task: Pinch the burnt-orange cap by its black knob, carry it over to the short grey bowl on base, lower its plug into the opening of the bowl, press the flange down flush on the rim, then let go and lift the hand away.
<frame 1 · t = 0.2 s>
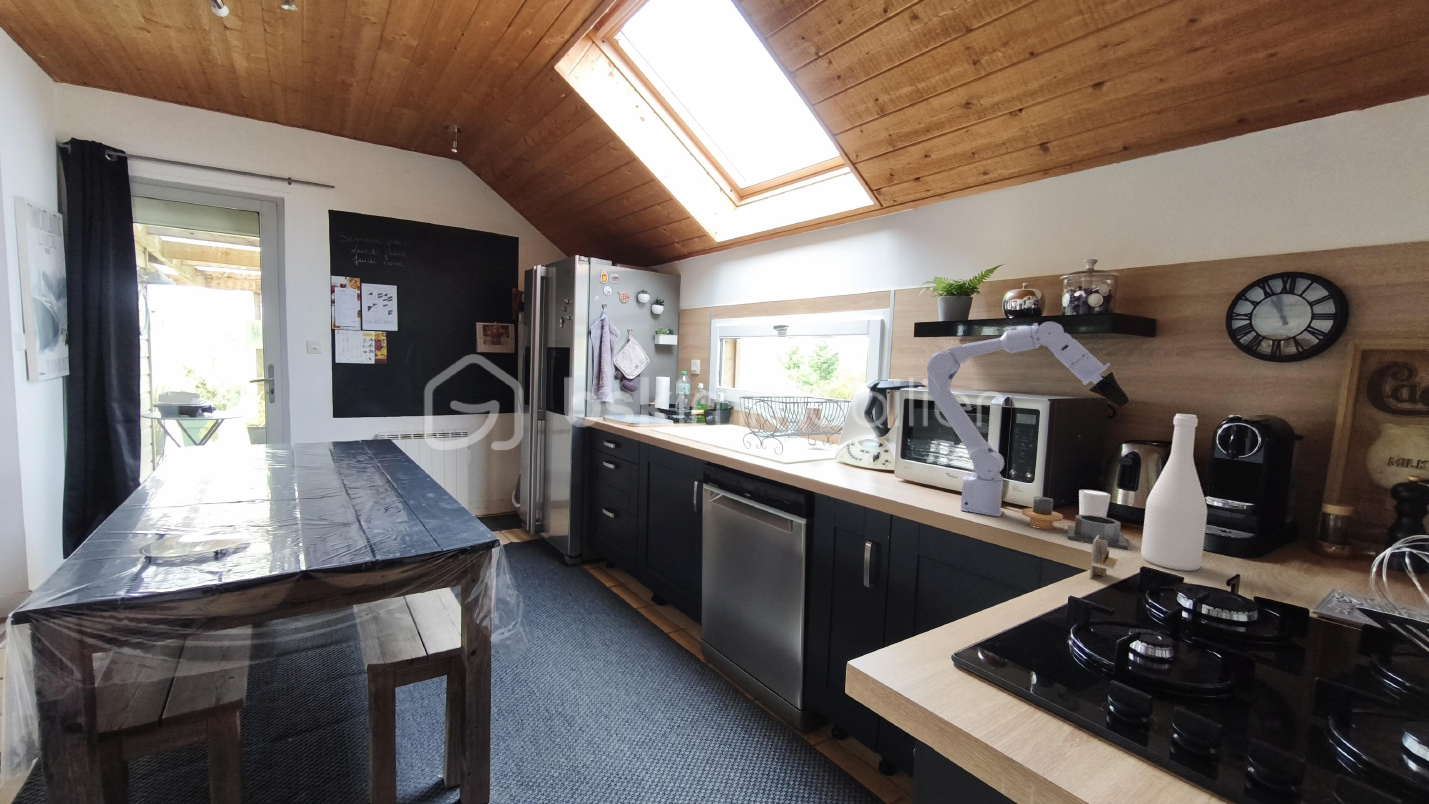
hand: (1125, 403, 135), 31 cm above the worktop, tool tilted 45°, fingers open, 7 cm apart
cap: (1040, 526, 140), on the worktop
wine bottle: (1169, 564, 117), on the worktop
shot glass: (1092, 519, 150), on the worktop
grey bowl on base: (1095, 538, 132), on the worktop
architectural model: (1097, 579, 107), on the worktop
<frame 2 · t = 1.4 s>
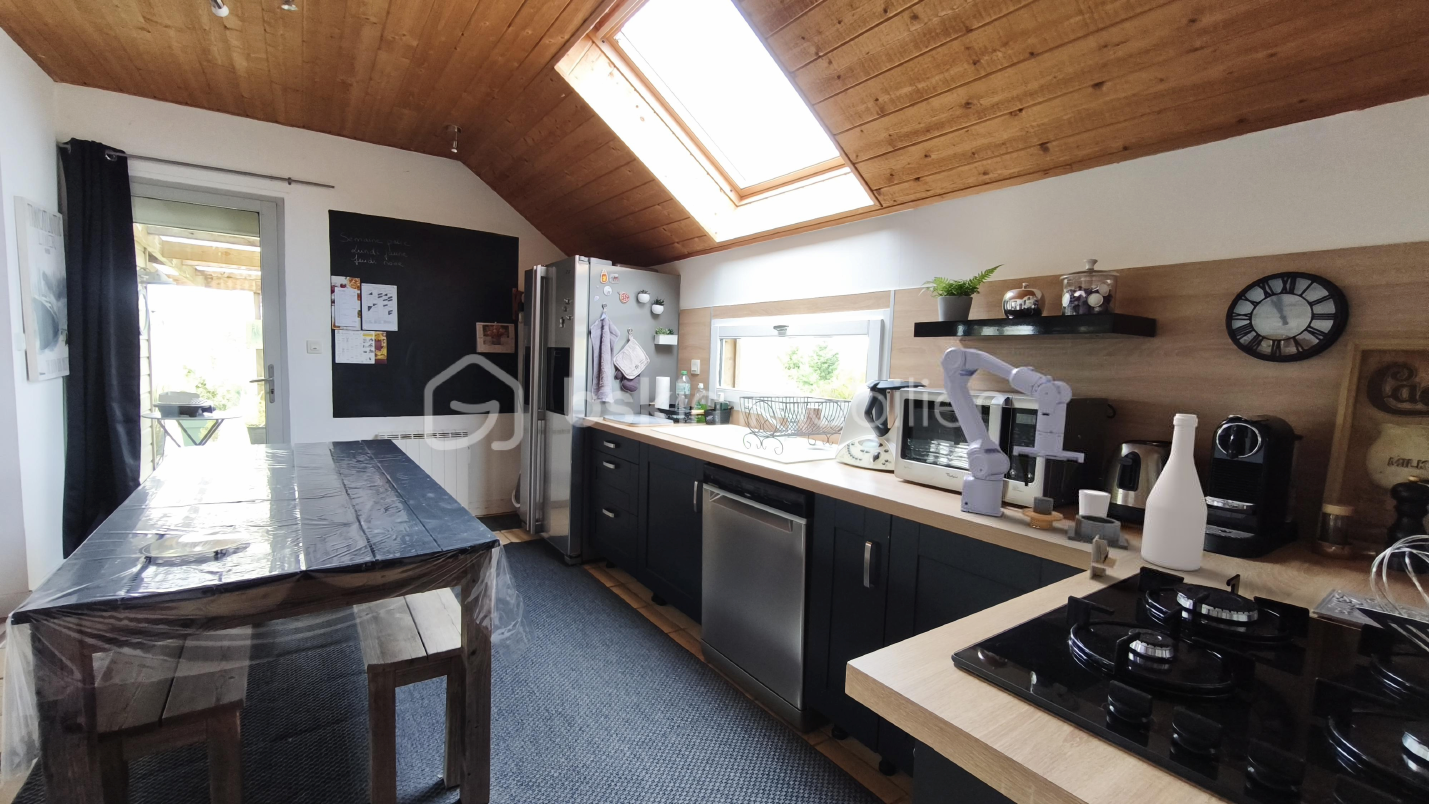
hand: (1044, 488, 140), 9 cm above the worktop, tool pointing down, fingers open, 7 cm apart
nothing on the worktop moved.
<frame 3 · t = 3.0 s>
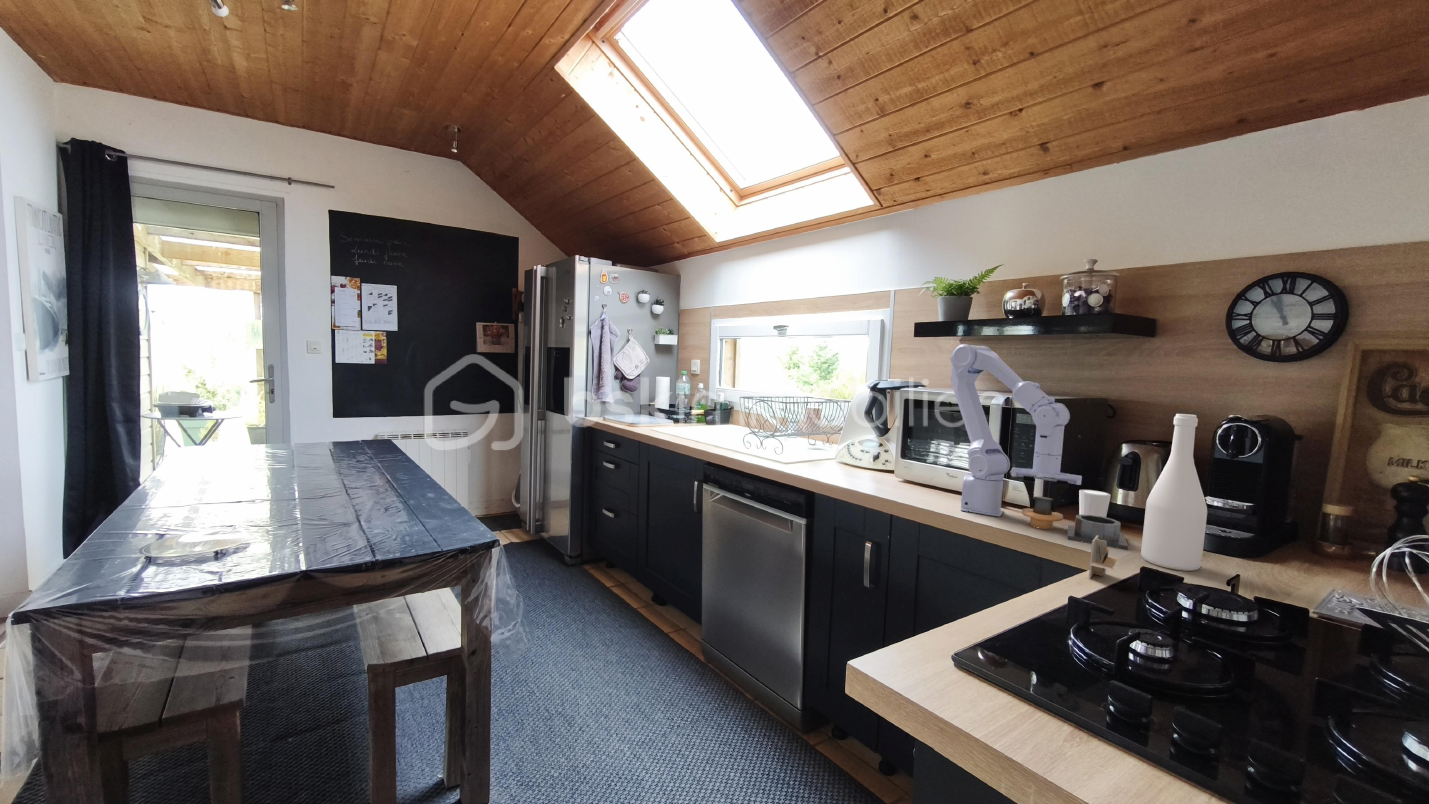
hand: (1042, 509, 140), 4 cm above the worktop, tool pointing down, fingers closed on cap, 4 cm apart
cap: (1040, 526, 140), on the worktop, touching gripper
everything else where it was.
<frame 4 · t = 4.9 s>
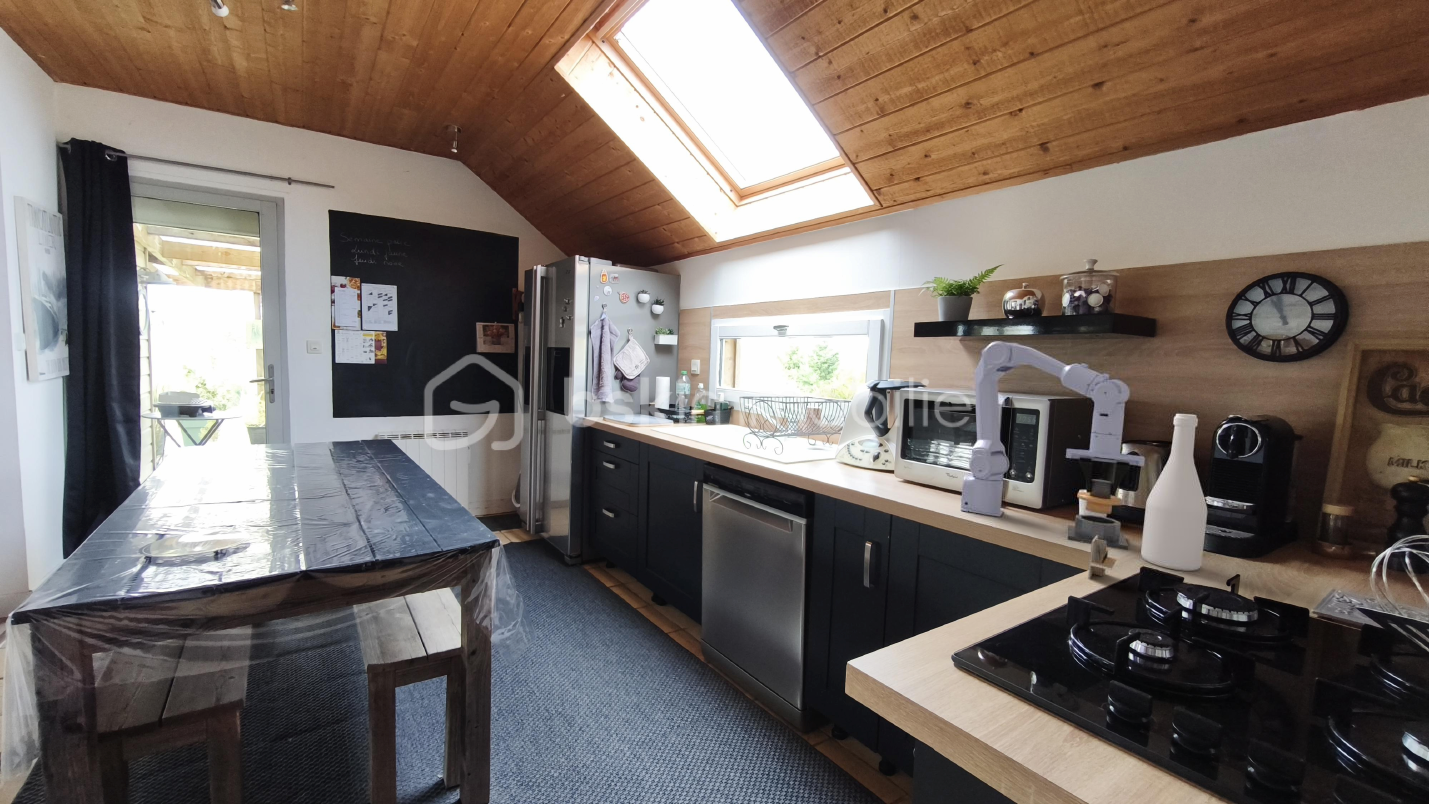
hand: (1100, 493, 131), 10 cm above the worktop, tool pointing down, fingers closed on cap, 4 cm apart
cap: (1098, 510, 132), point 6 cm above the worktop, touching gripper
everything else where it was.
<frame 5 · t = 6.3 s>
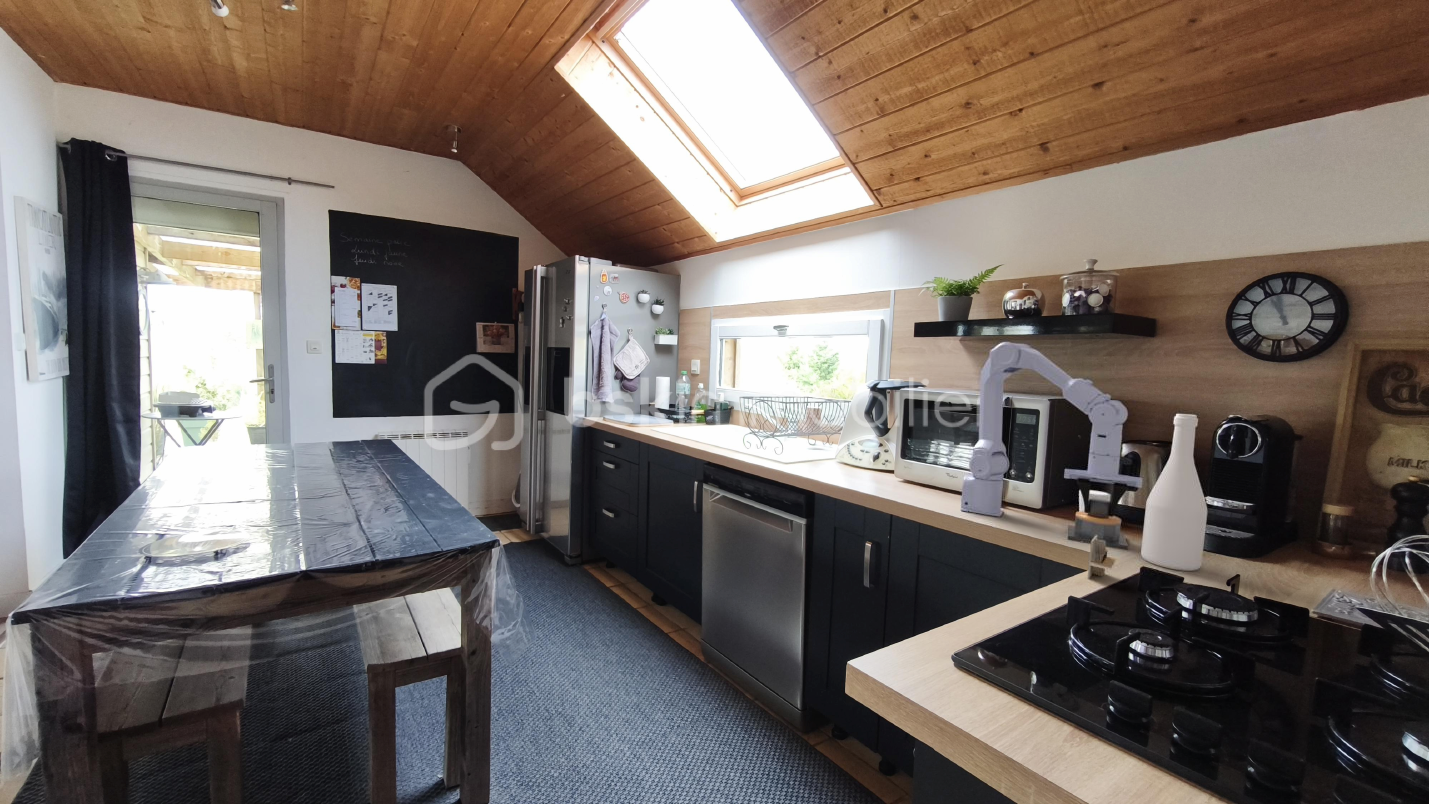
hand: (1098, 513, 132), 6 cm above the worktop, tool pointing down, fingers closed on cap, 4 cm apart
cap: (1096, 530, 132), point 2 cm above the worktop, touching grey bowl on base, gripper
everything else where it was.
when the fingers open (6 cm above the worktop, at t = 7.1 s): cap stays where it is, resting on grey bowl on base.
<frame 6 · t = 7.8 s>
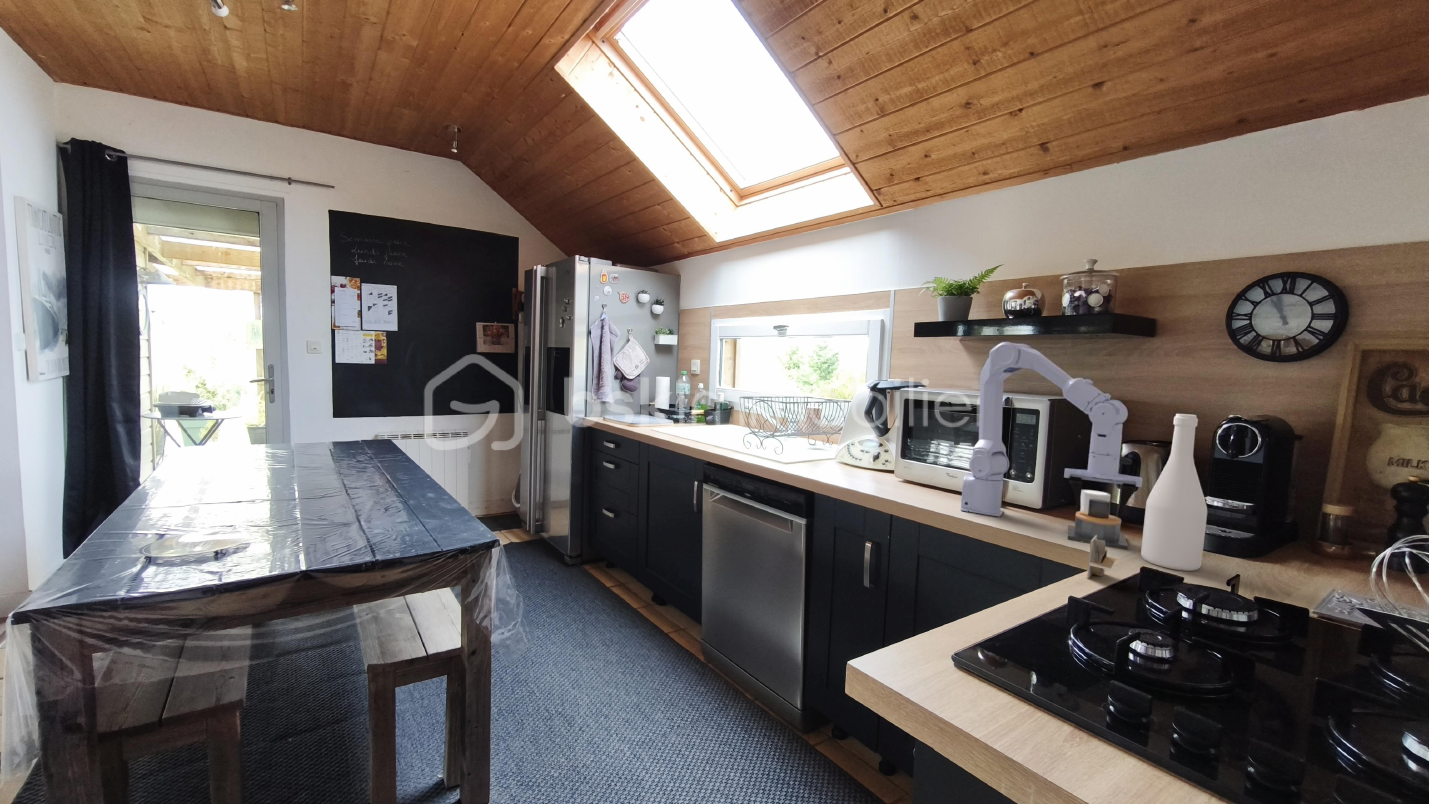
hand: (1098, 513, 132), 6 cm above the worktop, tool pointing down, fingers open, 7 cm apart
cap: (1096, 530, 132), point 2 cm above the worktop, touching grey bowl on base
everything else where it was.
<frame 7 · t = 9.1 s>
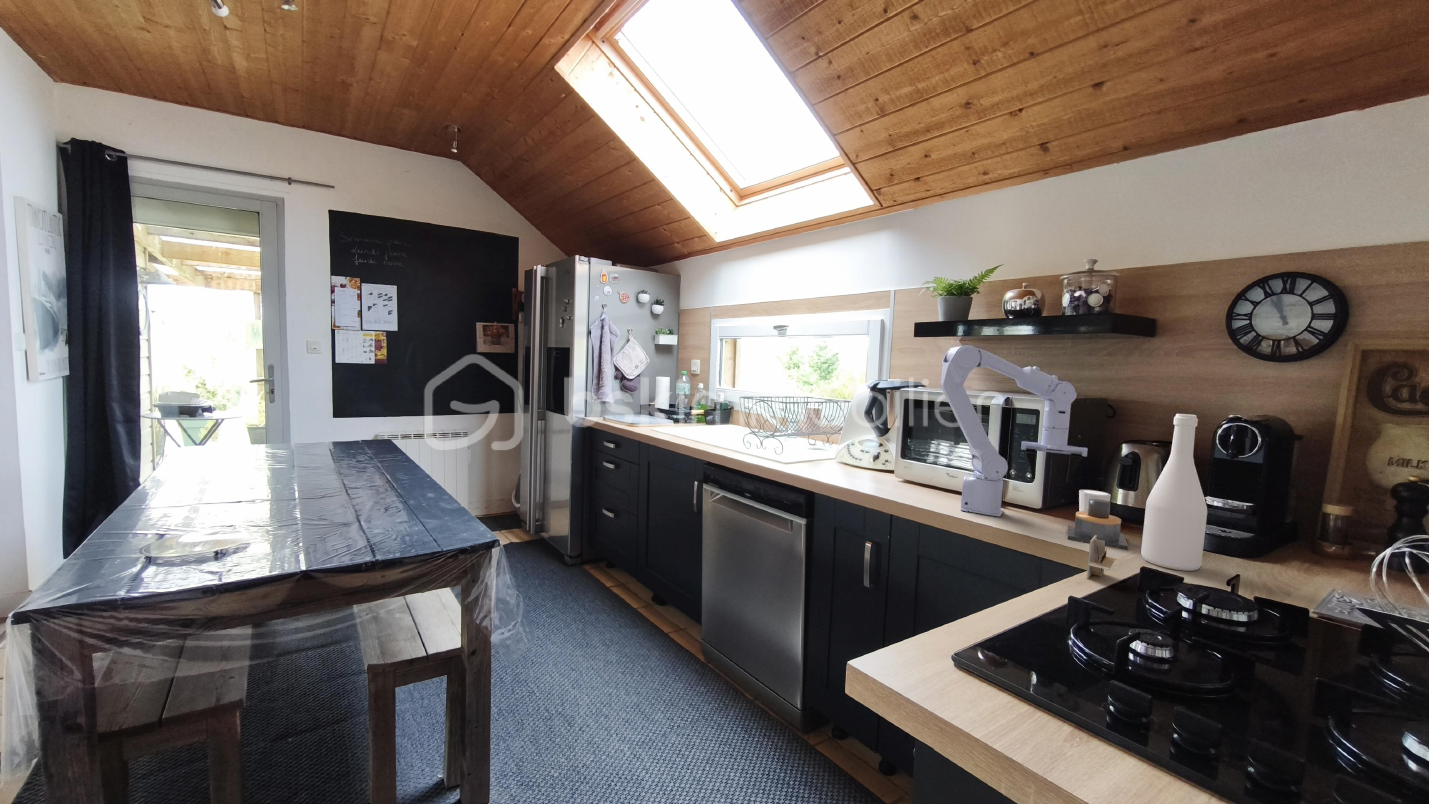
hand: (1050, 480, 149), 9 cm above the worktop, tool pointing down, fingers open, 7 cm apart
nothing on the worktop moved.
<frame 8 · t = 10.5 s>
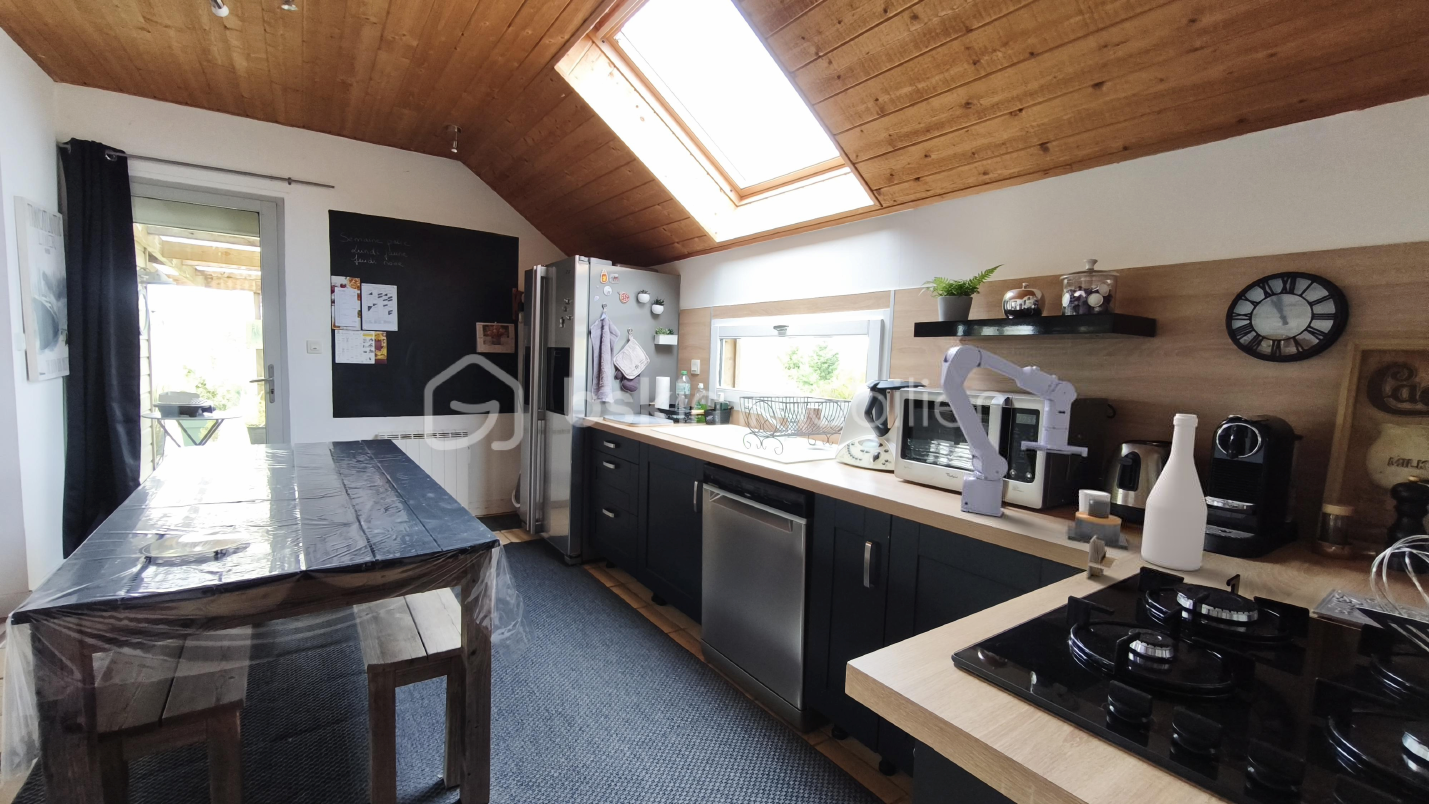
hand: (1050, 480, 150), 9 cm above the worktop, tool pointing down, fingers open, 7 cm apart
nothing on the worktop moved.
at the end: cap 0.0 cm off-centre on the grey bowl on base, point 1.8 cm above the grey bowl on base's base; cap tilted 0°; the gripper is holding nothing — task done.
